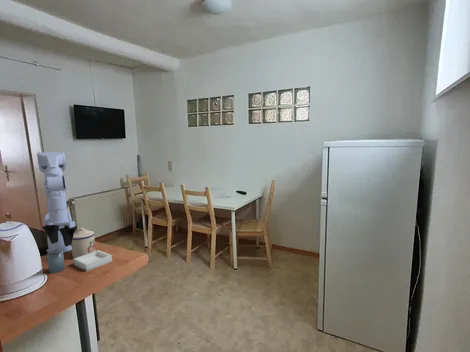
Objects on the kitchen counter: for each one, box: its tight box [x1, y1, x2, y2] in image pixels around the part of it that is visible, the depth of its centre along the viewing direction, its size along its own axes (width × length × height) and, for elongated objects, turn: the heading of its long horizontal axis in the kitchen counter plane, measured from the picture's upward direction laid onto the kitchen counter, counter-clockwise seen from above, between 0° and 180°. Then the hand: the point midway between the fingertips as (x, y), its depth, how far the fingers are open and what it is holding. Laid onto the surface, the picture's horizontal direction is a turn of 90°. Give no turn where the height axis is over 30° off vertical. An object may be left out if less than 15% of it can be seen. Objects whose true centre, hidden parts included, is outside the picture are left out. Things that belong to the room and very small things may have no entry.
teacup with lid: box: [71, 227, 97, 259], centre depth 114 cm, size 12×9×12 cm
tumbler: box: [46, 250, 66, 274], centre depth 99 cm, size 5×5×7 cm
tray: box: [72, 249, 113, 272], centre depth 104 cm, size 10×10×2 cm
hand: (61, 244), depth 99 cm, fingers open, 7 cm apart
